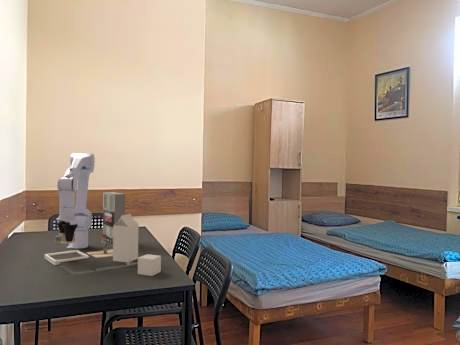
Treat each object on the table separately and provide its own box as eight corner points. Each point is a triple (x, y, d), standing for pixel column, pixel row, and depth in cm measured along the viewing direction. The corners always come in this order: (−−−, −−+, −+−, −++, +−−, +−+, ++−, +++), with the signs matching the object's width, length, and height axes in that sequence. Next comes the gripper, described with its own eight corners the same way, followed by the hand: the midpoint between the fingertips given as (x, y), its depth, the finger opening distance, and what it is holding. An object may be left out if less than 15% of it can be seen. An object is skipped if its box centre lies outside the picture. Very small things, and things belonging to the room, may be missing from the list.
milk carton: (138, 260, 156) (138, 214, 156) (128, 265, 150) (128, 216, 149) (123, 259, 159) (123, 213, 158) (112, 263, 152) (113, 215, 151)
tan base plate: (85, 254, 164) (86, 241, 164) (112, 251, 172) (112, 238, 172) (97, 260, 156) (97, 246, 155) (124, 256, 163) (124, 243, 163)
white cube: (152, 276, 136) (152, 259, 136) (137, 274, 138) (137, 257, 138) (160, 271, 142) (161, 255, 141) (146, 270, 144) (146, 254, 144)
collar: (70, 240, 160) (70, 232, 160) (75, 242, 156) (75, 234, 156) (53, 242, 155) (53, 234, 155) (57, 244, 151) (57, 235, 151)
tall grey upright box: (100, 242, 189) (101, 192, 189) (112, 241, 193) (113, 192, 193) (112, 247, 179) (113, 194, 178) (125, 246, 183) (125, 194, 182)
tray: (44, 258, 157) (44, 254, 157) (77, 254, 166) (77, 249, 166) (54, 265, 147) (54, 260, 147) (88, 260, 156) (89, 255, 156)
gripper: (51, 205, 159) (50, 238, 159) (62, 209, 148) (62, 244, 148) (68, 204, 163) (68, 236, 164) (81, 208, 152) (80, 242, 153)
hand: (66, 240), depth 156 cm, fingers closed on collar, 5 cm apart
